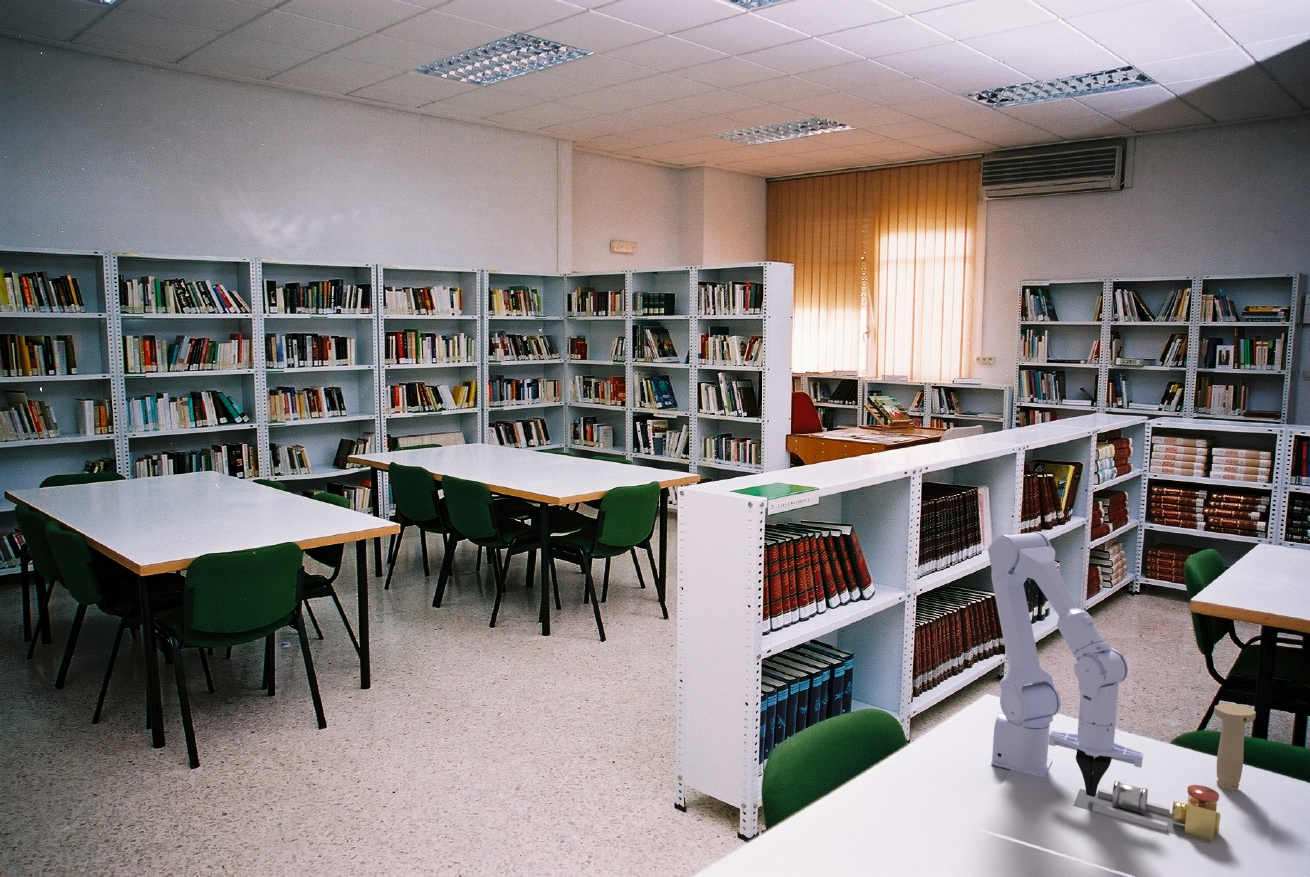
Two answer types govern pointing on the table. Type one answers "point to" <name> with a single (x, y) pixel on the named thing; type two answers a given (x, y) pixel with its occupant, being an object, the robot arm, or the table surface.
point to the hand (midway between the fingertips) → (1091, 793)
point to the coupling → (1129, 797)
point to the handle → (1231, 743)
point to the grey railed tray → (1133, 813)
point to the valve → (1198, 812)
